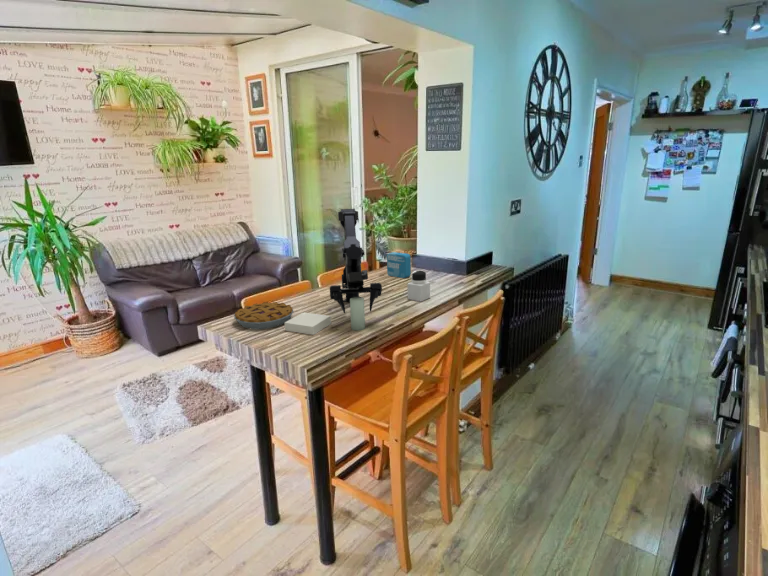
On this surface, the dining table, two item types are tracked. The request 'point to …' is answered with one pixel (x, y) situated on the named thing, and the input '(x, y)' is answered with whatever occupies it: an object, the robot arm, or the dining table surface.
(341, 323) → the dining table surface
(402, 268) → the data package
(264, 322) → the pie
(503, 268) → the dining table surface
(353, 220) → the robot arm
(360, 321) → the ball
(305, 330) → the stand
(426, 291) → the medicine bottle
